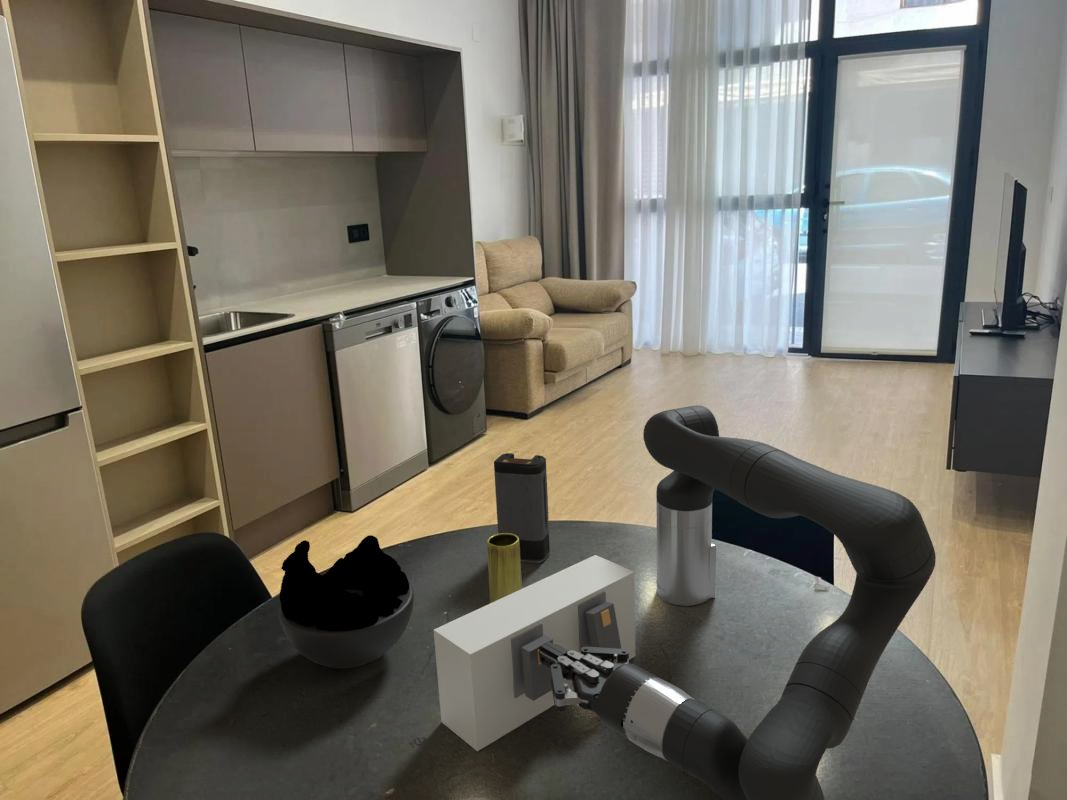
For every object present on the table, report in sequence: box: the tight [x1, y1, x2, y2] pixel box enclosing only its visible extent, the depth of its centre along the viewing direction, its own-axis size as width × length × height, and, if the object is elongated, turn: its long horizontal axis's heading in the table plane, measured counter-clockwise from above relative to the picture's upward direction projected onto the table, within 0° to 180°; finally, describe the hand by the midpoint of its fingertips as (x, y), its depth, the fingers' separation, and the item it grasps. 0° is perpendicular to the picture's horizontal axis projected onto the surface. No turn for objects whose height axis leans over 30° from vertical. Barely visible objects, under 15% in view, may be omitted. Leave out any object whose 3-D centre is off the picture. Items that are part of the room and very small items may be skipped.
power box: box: [433, 554, 636, 752], centre depth 111 cm, size 8×30×14 cm, turn 131°
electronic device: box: [493, 452, 551, 564], centre depth 151 cm, size 9×6×20 cm, turn 71°
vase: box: [486, 533, 523, 604], centre depth 130 cm, size 6×6×14 cm
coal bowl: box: [278, 534, 415, 669], centre depth 120 cm, size 20×20×19 cm
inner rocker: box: [585, 602, 621, 659], centre depth 109 cm, size 2×4×7 cm, turn 131°
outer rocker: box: [521, 635, 553, 701], centre depth 102 cm, size 2×4×7 cm, turn 131°
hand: (543, 650), depth 101 cm, fingers closed
